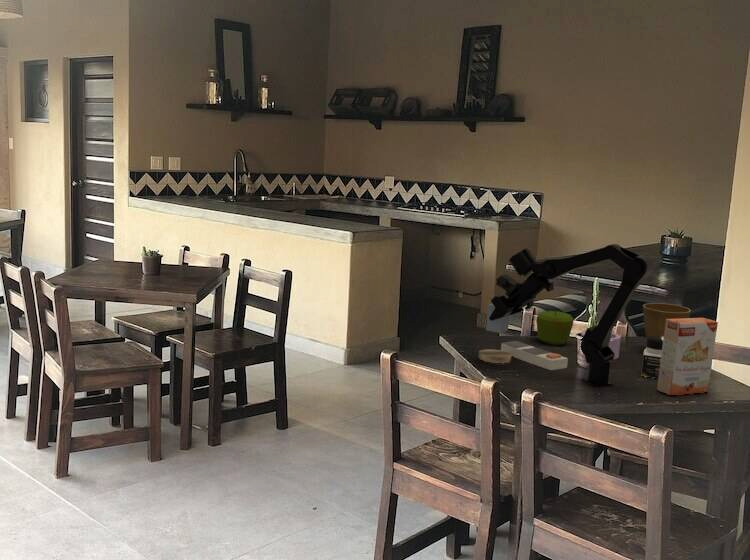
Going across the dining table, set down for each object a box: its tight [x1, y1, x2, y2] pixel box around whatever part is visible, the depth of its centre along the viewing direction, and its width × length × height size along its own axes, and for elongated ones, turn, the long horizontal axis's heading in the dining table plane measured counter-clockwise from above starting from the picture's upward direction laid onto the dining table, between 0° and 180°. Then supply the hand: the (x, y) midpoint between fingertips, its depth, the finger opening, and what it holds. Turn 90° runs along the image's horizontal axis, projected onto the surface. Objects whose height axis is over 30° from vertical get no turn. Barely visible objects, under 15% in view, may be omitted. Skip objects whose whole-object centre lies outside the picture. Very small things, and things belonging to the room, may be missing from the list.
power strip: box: [500, 340, 569, 371], centre depth 251 cm, size 22×7×4 cm, turn 33°
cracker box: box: [656, 317, 719, 396], centre depth 223 cm, size 14×6×21 cm, turn 114°
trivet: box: [478, 348, 512, 365], centre depth 249 cm, size 10×10×2 cm
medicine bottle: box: [640, 336, 664, 379], centre depth 240 cm, size 7×7×12 cm
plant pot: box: [642, 302, 692, 339], centre depth 267 cm, size 15×15×16 cm
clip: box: [580, 328, 622, 360], centre depth 265 cm, size 20×12×7 cm, turn 163°
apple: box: [535, 310, 574, 346], centre depth 275 cm, size 12×12×11 cm
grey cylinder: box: [485, 303, 510, 334], centre depth 246 cm, size 5×5×8 cm
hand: (494, 318), depth 247 cm, fingers closed on grey cylinder, 5 cm apart
